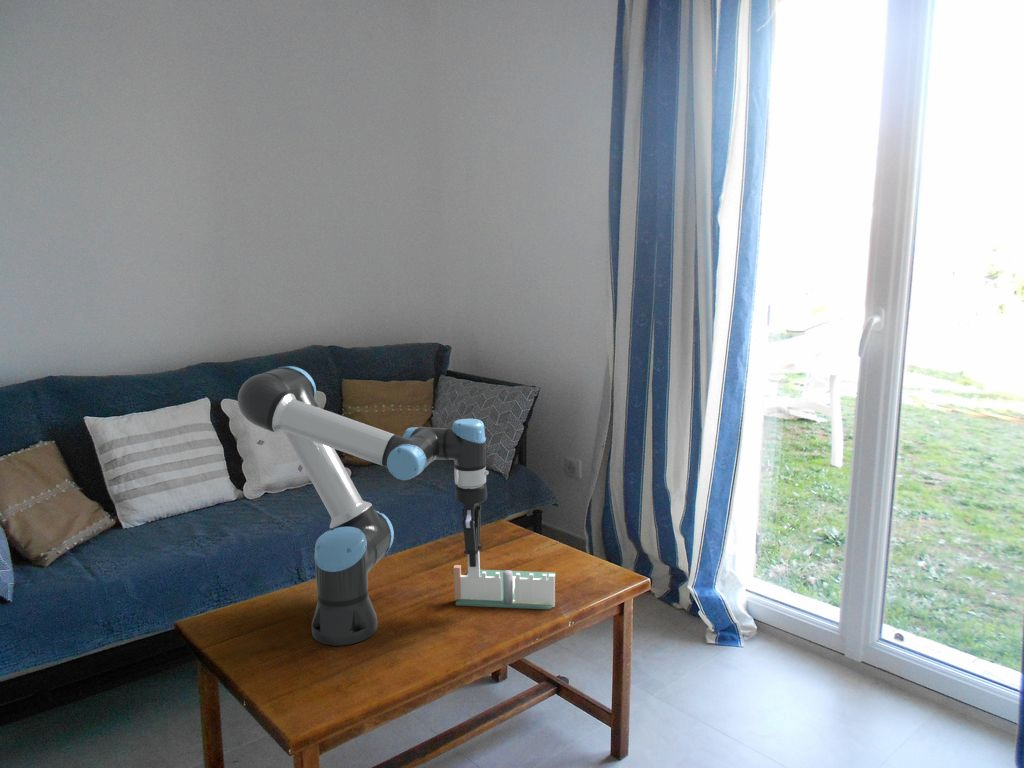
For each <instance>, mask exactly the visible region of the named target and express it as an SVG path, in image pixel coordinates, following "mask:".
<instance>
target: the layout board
mask: <svg viewBox="0 0 1024 768" xmlns="http://www.w3.org/2000/svg"><path fill="white" fill-rule="evenodd" d="M483 571H486V576H492V577H495V574H496V572H500V577H501V601H500V600H499V601H496V600H477V599H473V600H471V599H461V600H460V599H456V602H455V606H461V607H462V606H463V607H465V606H466V607H488V608H504V609H505V608H506V609H507V608H508V609H527V610H528V609H529V610H531V609H532V610H535V609H536V610H552V608H553V607H552V604H549V603H543V602H522V601H520V602H516V601H515V577H516V573H520V578H529V574H530V573H533V578H542V579H543V574H547V579H549V574H555V577H556V575H557V572H555V571H554V572H552V571H551V572H550V571H548V572H547V571H527V570H526V571H524V570H520V571H519V570H511V571H512V572H513V602H512V603H511V604H506V603H504V602H503V571H505V570H504V569H503V570H501V569H500V570H499V569H498V570H497V569H480V576H482V572H483ZM466 575H468V572H467V573H466Z"/></svg>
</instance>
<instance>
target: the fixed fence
mask: <svg viewBox="0 0 1024 768" xmlns="http://www.w3.org/2000/svg"><path fill="white" fill-rule="evenodd" d="M512 571H513V570H511V569H506V570H504V571H503V602H504V603H506V604H511V603H512V602H513V572H512ZM555 582H556V576H555V574H549V579H547V574H543V579H542V578H533V573H530V574H529V578H520V573H516V577H515V601H516V602H520V601H522V602H543V603H549V604H552V608H555V606H556V603H555V602H556V598H555V597H556V589H555V587H556V583H555Z"/></svg>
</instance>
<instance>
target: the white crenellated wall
mask: <svg viewBox="0 0 1024 768" xmlns="http://www.w3.org/2000/svg"><path fill="white" fill-rule="evenodd" d="M453 598H454V599H453V600H457V599H460V600H461V599H471V600H473V599H477V600H496V601H499V600H500V601H501V577H500V572H496V574H495V577H492V576H486V571H483V572H482V576H480V578H468V575H467V574H466V575H464V574H462V565H461V564H454V566H453Z"/></svg>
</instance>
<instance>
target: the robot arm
mask: <svg viewBox="0 0 1024 768" xmlns="http://www.w3.org/2000/svg"><path fill="white" fill-rule="evenodd" d="M316 387H317V386H316V384H315V381H314V379H313V377H312V376H311V375H310V374H309V373H308V372H307V371H306V370H304V369H302V368H300V367H297V366H292V365H291V366H290V365H289V366H288V365H287V366H280V367H277V368H273V369H271V370H268V371H266V372H263V373H258V374H256V375H253V376H251V377H249V378H248V379H247V380H245V382H244V383H243V384H241V387H240V388H239V391H238V394H237V405H238V409H239V410H240V413H241V414H242V415H243V417H244V418H245V419H246V420H247V421H249V422H250V423H252V424H253V425H255V426H257V427H259V428H262V429H264V430H267V431H270V432H273V433H276V434H281V433H283V434H285V436H286V437H287V439H288V441H289V443H290V445H291V448H292V449H293V451H294V452H295V453H296V456H297V458H298V459H299V462H300V463H301V465H302V467H303V468H304V471H305V472H306V474H307V476H308V478H309V480H310V481H311V483H312V484H313V486H314V488H315V490H316V492H317V494H318V496H319V497H320V499H321V501H322V503H323V505H324V506H325V509H326V510H327V512H328V514H329V516H330V518H331V520H330V523H329V530H327V531H325V532H324V533H322V534H321V535H320V536H319V537H318V538H317V540H316V542H315V543H314V544H315V546H314V553H313V554H314V555H313V559H314V563H315V564H314V565H315V578H316V591H317V593H316V594H317V602H316V603H317V604H316V607H315V611H314V615H313V618H312V620H311V621H312V622H311V636H312V637H313V639H314V640H315V641H316V642H318V643H320V644H323V645H328V646H339V647H340V646H341V647H342V646H349V645H353V644H358V643H360V642H363V641H365V640H367V639H368V638H370V637H372V636H373V635H374V633H375V632H376V631H377V629H378V617H377V613H376V611H375V608H374V605H373V603H372V601H371V599H370V596H369V578H368V574H369V572H370V571H371V570H372V569H373V568H374V567H375V566H376V565H377V563H379V562H380V560H382V559H383V558H384V557H385V556H386V555H387V554H388V552H389V550H390V549H391V547H392V545H393V542H394V538H395V533H394V527H393V524H392V522H391V521H390V519H389V518H388V516H386V514H384V513H381V512H379V511H378V510H375V508H374V506H373V504H372V503H371V502H368V501H366V500H363V498H362V497H361V495H360V493H359V492H358V489H357V488H356V486H355V484H354V482H353V480H352V479H351V476H350V475H349V473H348V471H347V469H346V468H345V466H344V463H343V462H342V460H341V458H340V457H339V454H338V453H337V451H340V452H341V453H342V452H343V453H345V454H348V455H351V456H354V457H357V458H359V459H362V460H365V461H368V462H370V463H374V464H377V465H380V466H381V467H385V468H387V469H388V472H389V473H390V474H391V475H392V476H393V477H394V478H395V479H397V480H401V481H407V480H411V479H413V478H414V477H417V476H419V475H420V474H421V473H422V472H423V471H424V469H426V468H427V467H428V466H429V465H430V464H431V463H432V462H434V461H435V460H440V461H442V460H444V461H450V460H452V461H453V462H454V465H453V466H454V467H453V468H454V470H453V474H454V484H455V487H454V489H455V490H454V492H455V500H456V501H457V502H458V503H460V504H463V506H464V507H463V508H462V511H461V512H462V517H463V520H462V521H461V523H462V527H463V528H462V529H463V539H464V548H465V550H464V551H463V554H465V555H466V557H467V573H468V578H480V570H481V567H480V566H481V562H480V551H482V550H483V546H482V545H481V544H482V543H481V511H482V503H484V502H485V501H486V500H487V499H488V486H487V476H488V475H489V470H487V469H486V468H487V461H486V454H487V451H486V441H487V437H486V433H485V424H484V422H483V421H482V420H481V419H478V418H461V419H456V420H455V421H453V423H452V427H450V428H449V427H448V428H447V427H424V426H417V427H409V428H407V429H405V431H404V433H403V436H400V435H397V434H395V433H391V432H388V431H386V430H383V429H381V428H377V427H375V426H372V425H369V424H366V423H363V422H360V421H358V420H354V419H352V418H349V417H346V416H343V415H340V414H338V413H335V412H333V411H329V410H326V409H323V408H321V407H320V406H319V405H318V404H317V401H316V400H315V399H316V393H317V388H316ZM336 450H337V451H336Z"/></svg>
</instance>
